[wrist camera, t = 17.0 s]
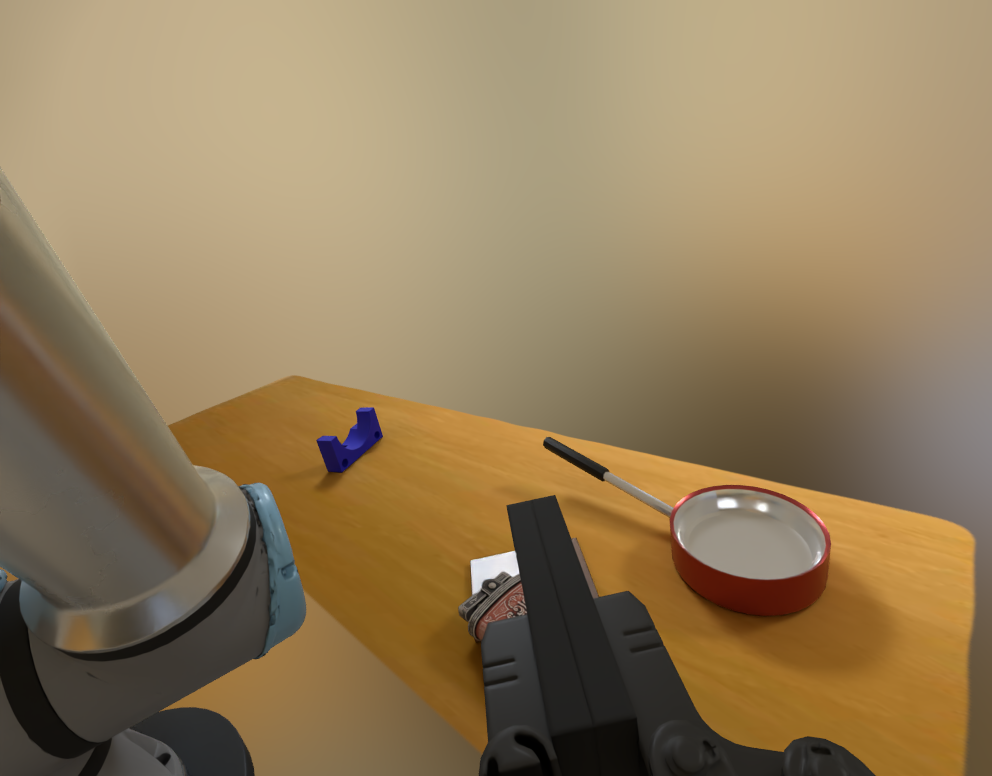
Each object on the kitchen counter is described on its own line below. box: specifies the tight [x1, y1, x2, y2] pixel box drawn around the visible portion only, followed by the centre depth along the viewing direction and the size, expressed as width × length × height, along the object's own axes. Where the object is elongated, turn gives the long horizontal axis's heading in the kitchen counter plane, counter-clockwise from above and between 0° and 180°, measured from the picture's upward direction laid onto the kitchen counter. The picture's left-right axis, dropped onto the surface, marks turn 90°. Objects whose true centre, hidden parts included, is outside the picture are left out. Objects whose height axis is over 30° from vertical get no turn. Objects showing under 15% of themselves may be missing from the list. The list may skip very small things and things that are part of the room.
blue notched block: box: [316, 408, 383, 472], centre depth 82 cm, size 12×4×6 cm, turn 158°
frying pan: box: [543, 437, 831, 616], centre depth 50 cm, size 32×13×6 cm, turn 45°
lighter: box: [459, 572, 527, 641], centre depth 41 cm, size 8×3×10 cm
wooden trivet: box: [470, 538, 599, 642], centre depth 47 cm, size 12×10×1 cm
